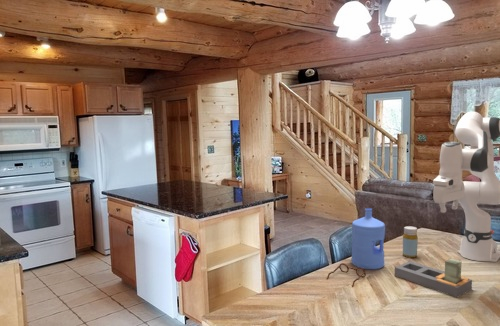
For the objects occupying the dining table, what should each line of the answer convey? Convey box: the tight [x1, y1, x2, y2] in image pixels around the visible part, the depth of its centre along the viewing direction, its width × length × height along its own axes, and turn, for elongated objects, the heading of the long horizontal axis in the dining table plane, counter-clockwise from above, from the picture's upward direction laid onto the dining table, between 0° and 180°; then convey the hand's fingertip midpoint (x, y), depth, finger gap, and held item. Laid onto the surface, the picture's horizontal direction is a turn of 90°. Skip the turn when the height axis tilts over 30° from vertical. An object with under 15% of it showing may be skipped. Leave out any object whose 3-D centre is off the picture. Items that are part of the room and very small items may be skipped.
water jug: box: [351, 207, 386, 270], centre depth 190 cm, size 16×16×28 cm
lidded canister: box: [402, 225, 419, 258], centre depth 202 cm, size 7×7×15 cm
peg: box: [444, 258, 462, 284], centre depth 161 cm, size 4×4×12 cm
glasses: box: [326, 262, 367, 288], centre depth 174 cm, size 13×13×5 cm
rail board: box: [394, 260, 473, 298], centre depth 169 cm, size 12×28×4 cm, turn 36°
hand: (449, 210), depth 169 cm, fingers open, 8 cm apart
